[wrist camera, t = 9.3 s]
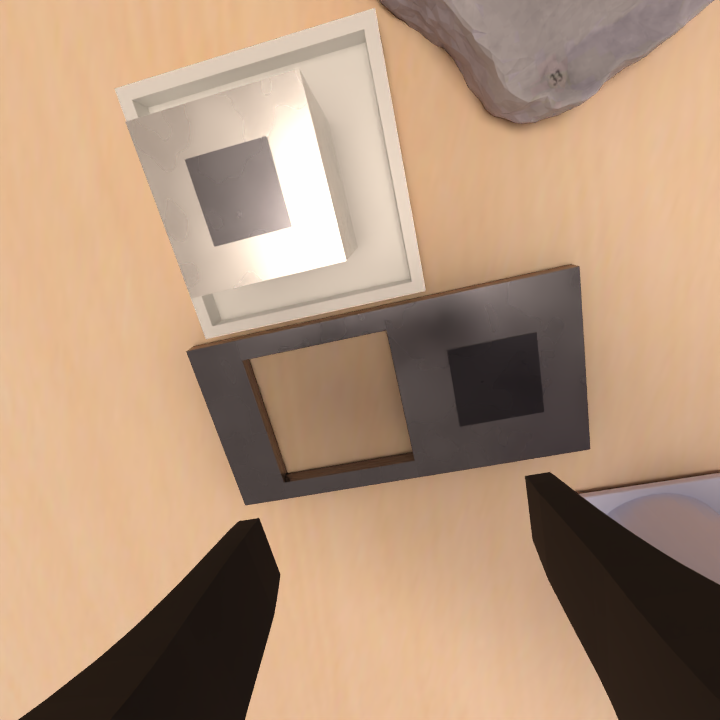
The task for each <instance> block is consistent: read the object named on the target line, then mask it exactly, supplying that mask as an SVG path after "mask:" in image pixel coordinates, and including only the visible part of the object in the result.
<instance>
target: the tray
mask: <svg viewBox="0 0 720 720" xmlns="http://www.w3.org/2000/svg"><path fill="white" fill-rule="evenodd" d="M298 68H299V69H300V71H301V73H302V74H303V76H304V78H305V80H306V82H307V83H308V85H309V87H310V89H311V91H312V93H313V94H314V96H315V98H316V100H317V102H318V104H319V105H320V107H321V109H322V111H323V113H324V114H325V116H326V118H327V120H328V122H329V126H330V131H331V135H332V139H333V144H334V148H335V152H336V156H337V161H338V165H339V169H340V174H341V178H342V182H343V186H344V191H345V195H346V199H347V204H348V208H349V212H350V217H351V221H352V225H353V229H354V234H355V238H356V242H357V247H358V248H357V249H356V250H355V252H354V253H353V254H352V255H351V256H350V257H349V258H348V259H347V261H344V262H340V263H336V264H331V265H327V266H323V267H319V268H315V269H311V270H307V271H303V272H298V273H294V274H290V275H286V276H282V277H278V278H274V279H270V280H265V281H261V282H257V283H253V284H249V285H245V286H241V287H237V288H232V289H228V290H224V291H220V292H216V293H212V294H208V295H204V296H199V297H195V298H191V300H192V303H193V305H194V308H195V311H196V314H197V316H198V319H199V322H200V325H201V327H202V330H203V333H204V336H205V338H206V339H209V338H214V337H218V336H223V335H227V334H232V333H237V332H241V331H246V330H250V329H255V328H259V327H264V326H268V325H273V324H278V323H282V322H287V321H291V320H296V319H300V318H305V317H310V316H314V315H319V314H323V313H328V312H332V311H337V310H341V309H346V308H351V307H355V306H360V305H364V304H369V303H373V302H378V301H383V300H387V299H392V298H396V297H401V296H405V295H410V294H414V293H419V292H424V291H426V289H425V283H424V278H423V272H422V266H421V261H420V255H419V250H418V244H417V239H416V233H415V227H414V222H413V216H412V211H411V205H410V200H409V194H408V188H407V183H406V177H405V172H404V166H403V161H402V155H401V150H400V144H399V138H398V133H397V127H396V122H395V116H394V111H393V105H392V99H391V94H390V88H389V83H388V77H387V72H386V66H385V60H384V55H383V49H382V44H381V38H380V33H379V27H378V21H377V16H376V10H375V8H373V9H370V10H366V11H363V12H360V13H357V14H354V15H350V16H347V17H344V18H341V19H337V20H334V21H331V22H328V23H324V24H321V25H318V26H315V27H312V28H308V29H305V30H302V31H299V32H295V33H292V34H289V35H286V36H283V37H279V38H276V39H273V40H270V41H266V42H263V43H260V44H257V45H254V46H250V47H247V48H244V49H241V50H237V51H234V52H231V53H228V54H225V55H221V56H218V57H215V58H212V59H208V60H205V61H202V62H199V63H195V64H192V65H189V66H186V67H183V68H179V69H176V70H173V71H170V72H166V73H163V74H160V75H157V76H154V77H150V78H147V79H144V80H141V81H137V82H134V83H131V84H128V85H125V86H121V87H118V88H115V91H116V94H117V97H118V99H119V102H120V105H121V108H122V110H123V113H124V116H125V119H126V121H129V120H133V119H136V118H139V117H142V116H146V115H149V114H152V113H155V112H159V111H162V110H165V109H168V108H172V107H175V106H178V105H181V104H185V103H188V102H191V101H194V100H198V99H201V98H204V97H207V96H210V95H214V94H217V93H220V92H223V91H227V90H230V89H233V88H236V87H240V86H243V85H246V84H249V83H253V82H256V81H259V80H262V79H266V78H269V77H272V76H275V75H279V74H282V73H285V72H288V71H292V70H295V69H298ZM184 281H185V280H184ZM187 289H188V288H187ZM188 292H189V291H188ZM190 297H191V296H190Z"/></svg>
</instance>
